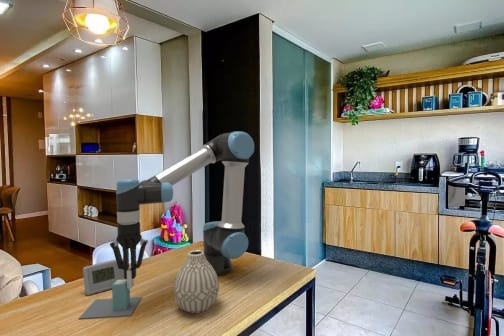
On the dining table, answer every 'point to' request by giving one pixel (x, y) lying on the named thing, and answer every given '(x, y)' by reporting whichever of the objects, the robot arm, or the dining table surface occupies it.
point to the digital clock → (101, 276)
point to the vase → (196, 284)
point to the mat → (108, 309)
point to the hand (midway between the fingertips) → (130, 287)
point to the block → (120, 295)
